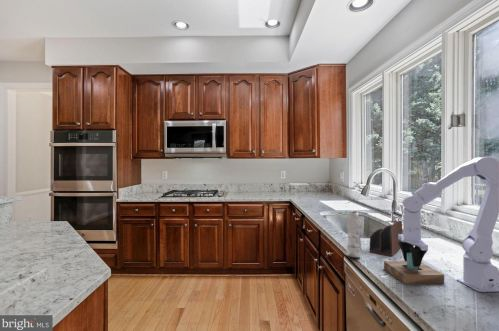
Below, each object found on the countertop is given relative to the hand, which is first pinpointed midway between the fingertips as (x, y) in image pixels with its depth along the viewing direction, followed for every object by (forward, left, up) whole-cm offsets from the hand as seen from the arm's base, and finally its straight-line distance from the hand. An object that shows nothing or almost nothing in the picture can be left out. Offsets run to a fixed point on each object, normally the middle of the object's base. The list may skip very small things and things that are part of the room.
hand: (412, 263), depth 103 cm
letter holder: (+31, -7, -5) cm, 32 cm away
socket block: (0, 0, -4) cm, 4 cm away
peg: (0, 0, -4) cm, 4 cm away
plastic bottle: (+21, +13, -5) cm, 25 cm away
